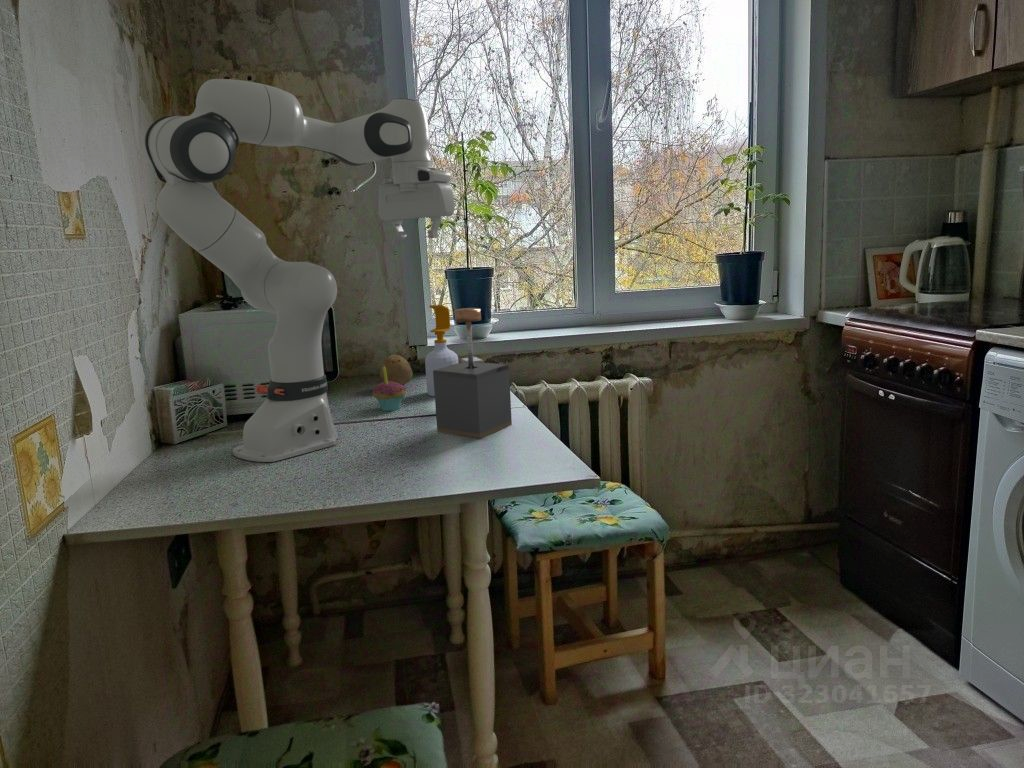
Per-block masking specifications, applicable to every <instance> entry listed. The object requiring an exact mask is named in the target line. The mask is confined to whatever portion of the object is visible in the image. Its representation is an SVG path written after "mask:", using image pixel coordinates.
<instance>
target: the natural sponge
mask: <svg viewBox="0 0 1024 768" xmlns="http://www.w3.org/2000/svg"><path fill="white" fill-rule="evenodd" d="M383 364H384V366H383ZM383 367H386V373H387V380H388V381H394V382H398V383H400V384H402V385H403V386H404V387H405V385H406V384H408V383H409V382H410V381H411V380H412V378H413V375H414V374H413V371H412V370H413V369H412V367H411V365H410V364H409V362H408V360H407V359H406V358H405V357H403V356H401V355H398V354H390V355H388V356H386V358H385V359H383V361H382V363H381V365H380V371H379V376H380V378H381V380H382V381H383V382H385V378H384V371H383Z"/></svg>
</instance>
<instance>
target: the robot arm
mask: <svg viewBox="0 0 1024 768" xmlns="http://www.w3.org/2000/svg"><path fill="white" fill-rule="evenodd" d="M303 111H304V110H303V108H302V106H301V104H300V102H299V100H298V99H297V97H296V96H295V95H294V94H293V93H291V92H289V91H286V90H283V89H281V88H279V87H276V86H273V85H268V84H264V83H259V82H254V81H250V80H249V81H248V80H241V79H232V78H229V79H228V78H212V79H208V80H206V81H204V82H203V83H202V84H201V86H200V87H199V89H198V92H197V94H196V99H195V108H194V111H193V112H191V114H190V115H167V116H163V117H160V118H159V119H155V121H154V122H152V123H151V125H149V127H148V129H147V130H146V132H145V135H144V146H145V150H146V154H147V156H148V158H149V159H150V160H149V161H150V163H151V165H152V167H153V168H154V171H155V174H156V176H157V178H158V179H159V180H160V181H161V182H162V183H165V184H164V186H163V187H162V189H160V192H159V193H158V195H157V198H156V210H157V213H158V215H159V217H160V218H161V219H162V220H163V221H164V222H165V223H166V225H167V226H168V227H169V228H170V229H172V231H173V233H175V234H176V235H177V236H179V238H180V239H181V240H182V241H183V242H185V243H186V244H187V245H189V246H190V247H191V248H192V249H194V250H195V251H196V252H197V253H198V254H200V255H201V256H203V258H205V259H206V260H208V261H209V262H210V263H212V264H213V266H215V267H217V269H219V270H220V271H221V272H223V273H224V274H225V275H226V276H228V277H229V279H230V280H231V281H232V282H233V283H234V285H236V287H238V289H239V290H240V293H241V296H242V299H243V300H244V302H246V303H247V304H248V305H249V306H251V307H252V308H254V309H256V310H258V311H261V312H264V313H268V314H276V323H275V328H274V333H273V335H272V337H271V338H270V339H269V341H268V343H267V352H268V353H267V355H268V363H269V370H270V377H271V379H270V380H269V383H268V386H267V385H266V384H256V387H255V393H257V395H259V394H260V395H265V398H266V399H265V400H264V401H263V403H262V404H261V405H260V406H259V408H257V410H256V411H254V413H253V414H252V416H250V417H249V419H247V421H246V422H245V423H244V426H243V432H242V433H243V434H242V444H240V445H237V446H236V447H234V448H233V449H232V455H233V456H235V457H236V458H239V459H241V460H246V461H249V462H250V461H251V462H257V463H267V462H268V463H271V462H272V463H273V462H278V461H283V460H285V459H289V458H292V457H297V456H299V455H304V454H307V453H310V452H311V453H312V452H314V451H317V450H322V449H326V448H329V447H332V446H335V445H337V439H338V438H339V434H338V432H337V431H338V430H337V429H336V427H335V423H334V421H333V417H332V413H331V409H330V406H329V400H328V399H329V398H328V391H329V386H328V380H327V375H326V374H325V371H324V369H325V368H324V360H323V348H322V335H323V328H324V325H325V319H326V316H327V313H328V311H329V309H330V308H331V307H332V306H333V305H334V304H335V302H336V299H337V296H338V285H337V281H336V279H335V276H334V275H333V274H332V273H333V272H331V271H330V270H329V269H327V268H326V267H323V266H321V265H319V264H317V263H314V262H310V261H286V260H284V259H282V258H280V257H278V256H277V255H276V254H274V252H273V250H271V248H270V247H269V245H268V243H267V237H266V235H265V233H264V232H263V231H262V230H261V229H260V228H259V227H258V226H256V225H255V224H254V223H253V222H252V221H251V220H249V218H247V217H246V216H245V215H243V214H242V213H241V212H240V211H239V210H238V209H237V208H236V207H234V206H233V205H232V204H231V203H229V202H228V201H227V200H226V199H224V198H223V197H222V195H221V194H220V193H219V192H218V191H217V190H216V188H215V186H214V184H213V182H214V183H215V182H217V181H220V180H221V179H223V178H224V177H226V176H227V174H228V173H230V172H231V169H232V167H233V165H234V161H235V158H236V157H235V156H236V151H237V148H238V146H239V142H241V143H247V144H252V145H254V144H255V145H259V146H266V147H294V146H295V147H300V148H305V149H309V150H314V151H319V152H322V153H327V154H329V155H331V156H333V157H334V158H336V159H338V160H339V161H340V162H342V163H344V164H346V165H348V166H350V167H351V166H352V167H358V166H363V165H365V164H369V163H374V162H377V161H381V160H386V159H387V160H388V159H389V158H390V159H391V166H392V178H385V179H383V180H382V181H381V183H380V184H379V186H378V190H379V192H378V210H377V212H378V217H379V218H380V219H381V221H391V225H392V227H393V229H394V231H395V232H396V240H407V238H408V235H407V231H404V228H403V227H402V224H403V220H409V219H424V218H427V219H428V218H430V223H432V225H431V227H430V229H429V230H427V234H428V235H427V236H428V238H429V239H438V237H439V233H438V232H439V231H438V230H439V228H440V226H441V223H442V217H452V216H453V214H454V213H455V198H454V196H455V195H454V191H453V187H452V185H451V184H450V182H451V179H452V178H451V177H452V175H451V173H450V172H449V171H445V170H443V169H442V170H441V169H438V168H436V167H432V166H433V165H432V158H431V155H430V150H429V149H430V144H431V138H430V127H429V120H428V115H427V112H426V109H425V106H424V105H423V104H422V103H420V102H419V101H417V100H415V99H411V98H410V99H409V98H403V97H402V98H395V99H392V100H391V101H390V103H389V104H387V105H386V106H384V107H382V108H380V109H379V110H377V111H373V112H371V113H367V114H364V115H361V116H357V117H354V118H348V119H344V120H340V121H337V122H329V121H325V120H321V119H317V118H313V117H310V116H309V117H308V116H305V115H304V112H303Z"/></svg>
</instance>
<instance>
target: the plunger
mask: <svg viewBox="0 0 1024 768" xmlns="http://www.w3.org/2000/svg"><path fill="white" fill-rule="evenodd" d="M481 311H482V308H480V307H465V308H464V307H462V308H457V309H456V308H455V309H454V315H455V316H454V317H455V318H454V319H455V322H456V323H465V328H466V330H465V331H466V332H465V333H466V347H467V358H468V367H469V369H474V360H473V357H474V346H473V345H474V344H473V327H472V323H474V322H480V321H482V313H481Z"/></svg>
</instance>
